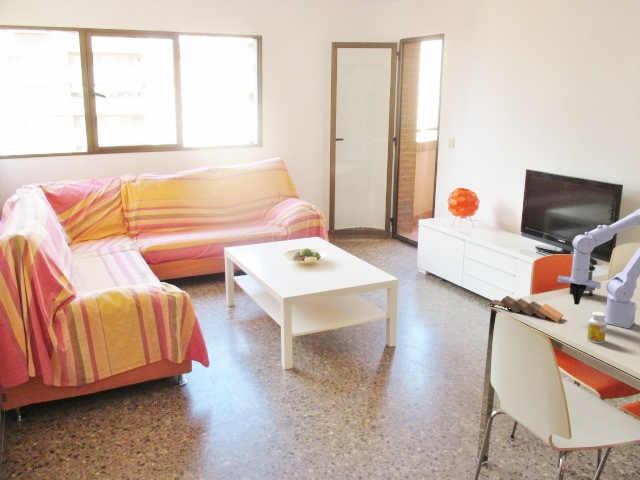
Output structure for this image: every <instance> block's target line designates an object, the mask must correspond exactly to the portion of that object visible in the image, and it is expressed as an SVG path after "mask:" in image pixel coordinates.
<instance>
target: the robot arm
mask: <svg viewBox="0 0 640 480" xmlns="http://www.w3.org/2000/svg"><path fill="white" fill-rule="evenodd" d="M634 226H640V208H638V209H636V210H635V211H633V212H632V213H629V214H628V215H626V216H625V217H623V218H621V219H619V220H617V221H616V222H614V223H612V224H610V225H606V224H603V225H601V224H599V225H597V226H596V228H594V229H592V230H590V231H585V232H584V234H578V235H576V236H575V237H574V238H573V240H572V241H571V245H572V247H573V254H572V263H571V264H572V265H571V274H570V276H563V275H558V277H557V283H564V284H569V289H571V291H572V297H573V304H574V305H578V306H579V304H580V302H581V299H582V297H583V294H584V293H585V292H586V291H585V290H586V288H587V286H588V287H594V288H595V289H597V290H600V289H601V288H602V282H601V281H600V282H599V281H595V280H593V279H592V280H588V275H589V272H590V271H589V265H590V263H591V253H592V252H593V250H594V249H595V248H596V247H598V246H600V245H602V244H604V243H607V242H609V241H611V240H612V239H613V237H614V236H615V234H618V233H620V232H623V231H625V230H627V229H630V228H632V227H634ZM639 277H640V246H639V247H638V248H637V250H636V252H635V253H634V254H633V255H632V257H631V258H630V260H629V261H628V263H626V266H625V267H624V268H623V270H622V271H620V272H618V273H616V274H615V275H614V277H612V278H611V279H609V280H608V281H607V282H606V286H605V287H606V292H608V295H607V297H606V308H605V319H604V320H605V321H606V322H607V324H608V325H613V326H617V327H622V328H625V329H630V328H631V327H632V326H633V325H634V324H635V320H636V319H635V318H636V311H637V304H636V302H634V301H631V300H632V298H633V296H634V293H635V290H636V288H637V279H638V278H639ZM570 284H571V285H570Z"/></svg>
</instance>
